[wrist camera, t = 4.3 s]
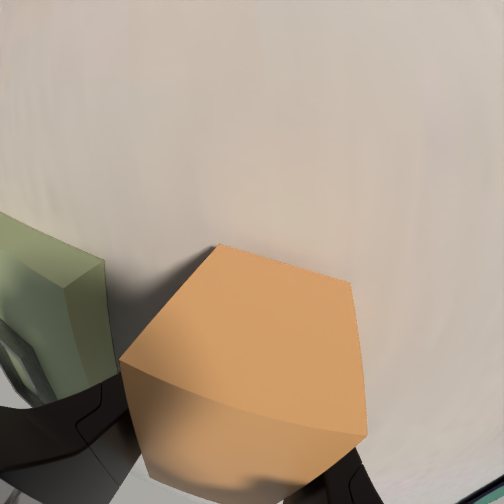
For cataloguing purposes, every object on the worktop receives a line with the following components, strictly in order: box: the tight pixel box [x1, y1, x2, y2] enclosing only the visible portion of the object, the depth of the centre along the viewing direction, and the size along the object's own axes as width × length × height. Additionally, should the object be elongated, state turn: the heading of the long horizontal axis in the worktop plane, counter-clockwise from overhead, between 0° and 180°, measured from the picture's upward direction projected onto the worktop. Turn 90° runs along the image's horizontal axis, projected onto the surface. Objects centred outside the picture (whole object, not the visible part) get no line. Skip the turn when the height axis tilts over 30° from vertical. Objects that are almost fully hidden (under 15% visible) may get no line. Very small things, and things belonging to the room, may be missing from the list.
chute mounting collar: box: [0, 318, 58, 408], centre depth 13 cm, size 10×7×1 cm
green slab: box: [0, 212, 118, 400], centre depth 13 cm, size 16×14×2 cm
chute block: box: [119, 244, 367, 504], centre depth 7 cm, size 7×4×5 cm, turn 167°
